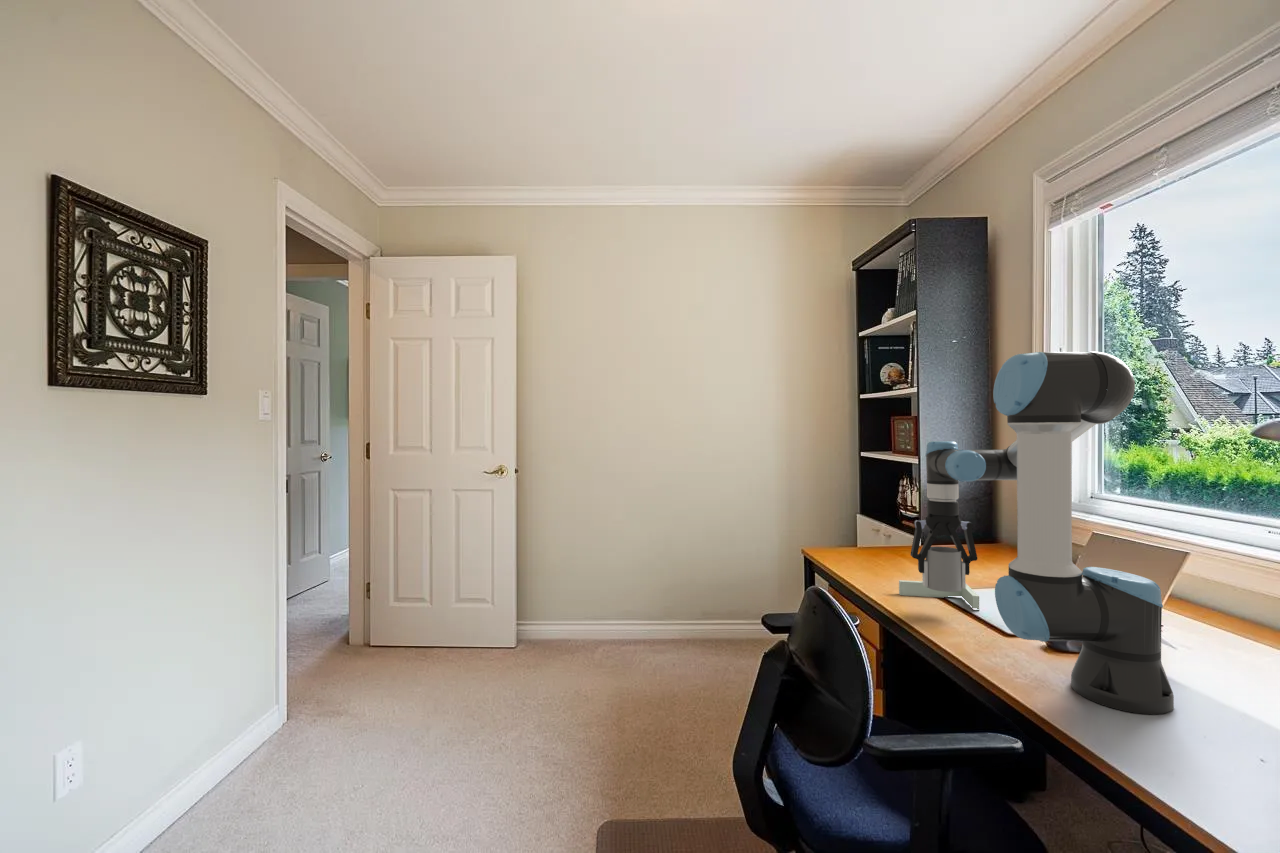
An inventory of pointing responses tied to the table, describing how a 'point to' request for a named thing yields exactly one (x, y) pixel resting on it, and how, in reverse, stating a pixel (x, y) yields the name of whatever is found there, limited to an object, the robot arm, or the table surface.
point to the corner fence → (936, 592)
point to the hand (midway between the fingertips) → (943, 586)
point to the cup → (944, 569)
